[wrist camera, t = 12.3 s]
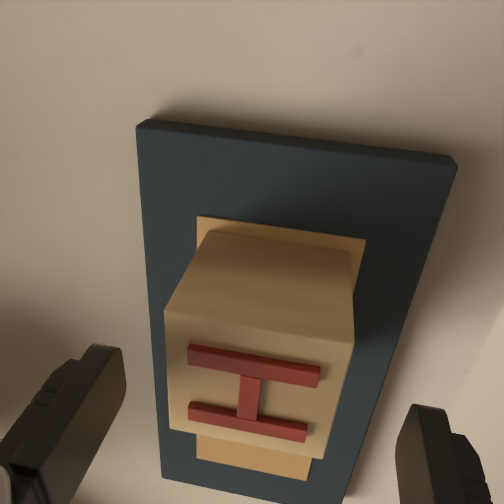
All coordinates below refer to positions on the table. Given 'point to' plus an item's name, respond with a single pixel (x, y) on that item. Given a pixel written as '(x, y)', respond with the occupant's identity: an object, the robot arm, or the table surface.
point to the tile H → (260, 342)
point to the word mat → (297, 232)
